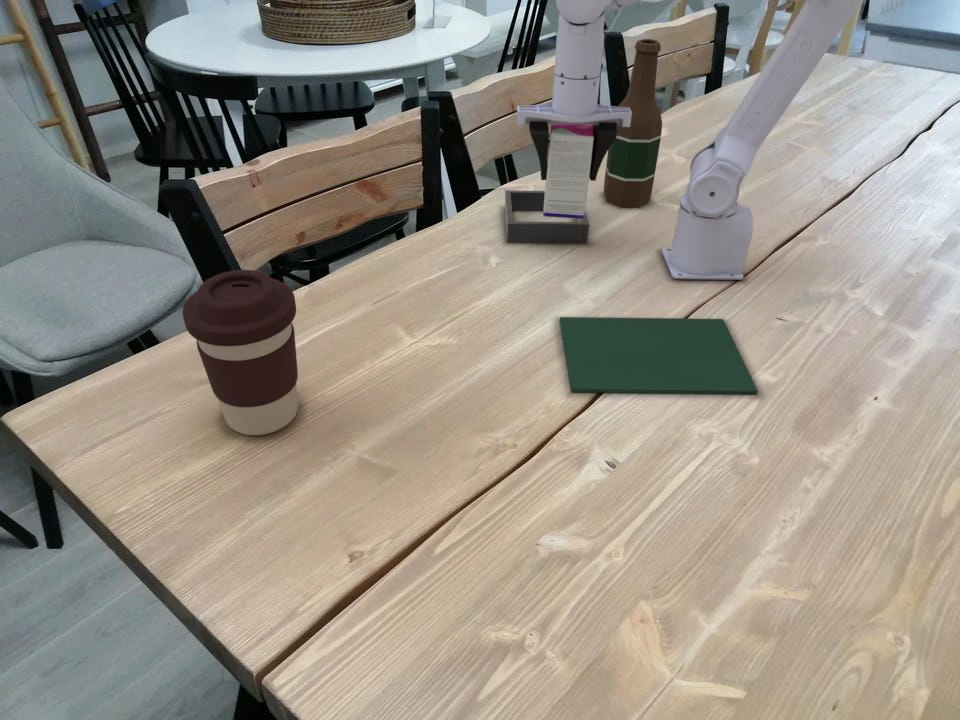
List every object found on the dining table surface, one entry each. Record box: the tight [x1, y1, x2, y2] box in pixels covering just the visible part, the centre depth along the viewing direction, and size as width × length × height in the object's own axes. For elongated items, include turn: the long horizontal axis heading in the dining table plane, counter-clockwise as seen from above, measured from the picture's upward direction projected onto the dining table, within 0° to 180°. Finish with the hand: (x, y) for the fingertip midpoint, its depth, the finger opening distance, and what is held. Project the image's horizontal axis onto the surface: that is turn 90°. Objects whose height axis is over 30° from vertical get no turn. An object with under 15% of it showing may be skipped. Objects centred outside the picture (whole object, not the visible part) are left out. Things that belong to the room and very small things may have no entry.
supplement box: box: [542, 124, 594, 220], centre depth 100 cm, size 6×6×12 cm
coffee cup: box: [181, 269, 299, 436], centre depth 71 cm, size 10×10×15 cm
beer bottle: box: [603, 38, 663, 208], centre depth 112 cm, size 8×8×24 cm
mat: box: [559, 316, 759, 395], centre depth 85 cm, size 20×14×1 cm
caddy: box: [504, 189, 590, 244], centre depth 110 cm, size 12×12×3 cm
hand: (568, 177), depth 100 cm, fingers closed on supplement box, 6 cm apart
